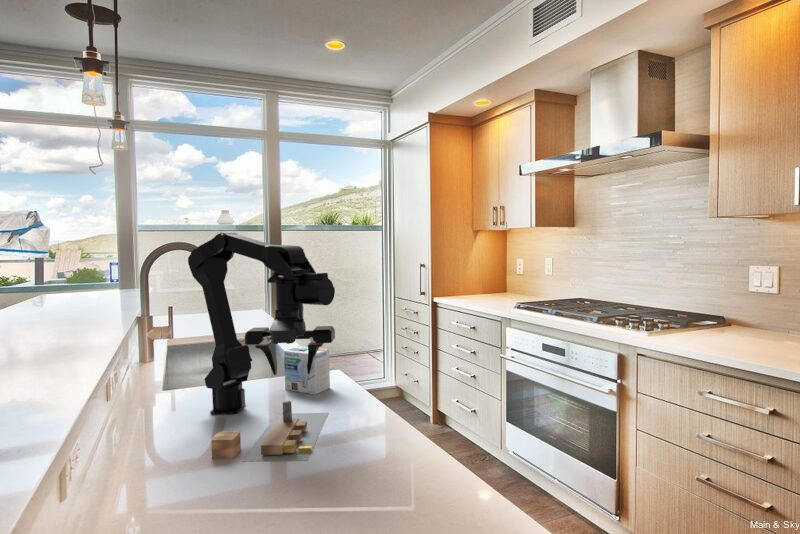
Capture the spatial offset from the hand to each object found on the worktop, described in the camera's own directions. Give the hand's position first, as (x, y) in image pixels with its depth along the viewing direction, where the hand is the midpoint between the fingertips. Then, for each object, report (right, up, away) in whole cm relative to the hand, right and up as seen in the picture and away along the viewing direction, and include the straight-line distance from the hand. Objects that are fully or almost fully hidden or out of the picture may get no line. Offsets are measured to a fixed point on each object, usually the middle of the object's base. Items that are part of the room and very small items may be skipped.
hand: (292, 373), depth 111 cm
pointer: (+6, -11, -15) cm, 20 cm away
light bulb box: (-1, -10, +26) cm, 28 cm away
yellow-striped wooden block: (-9, -12, -16) cm, 22 cm away
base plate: (+1, -11, -7) cm, 13 cm away
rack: (+1, -11, -10) cm, 15 cm away
